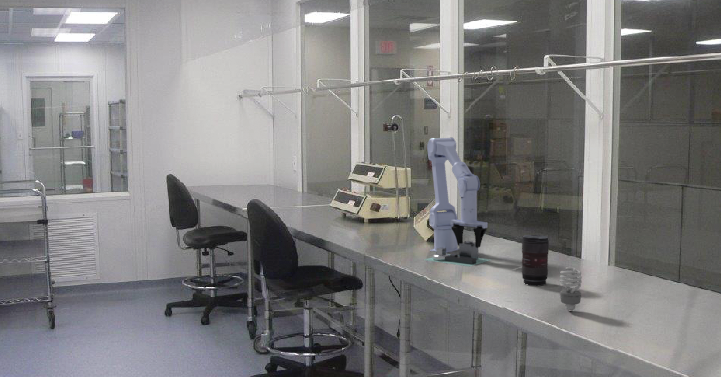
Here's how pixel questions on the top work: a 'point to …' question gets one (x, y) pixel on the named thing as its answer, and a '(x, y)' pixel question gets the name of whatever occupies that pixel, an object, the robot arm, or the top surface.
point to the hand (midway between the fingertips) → (468, 246)
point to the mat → (478, 261)
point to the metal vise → (452, 257)
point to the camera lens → (535, 259)
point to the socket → (468, 249)
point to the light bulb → (570, 295)
